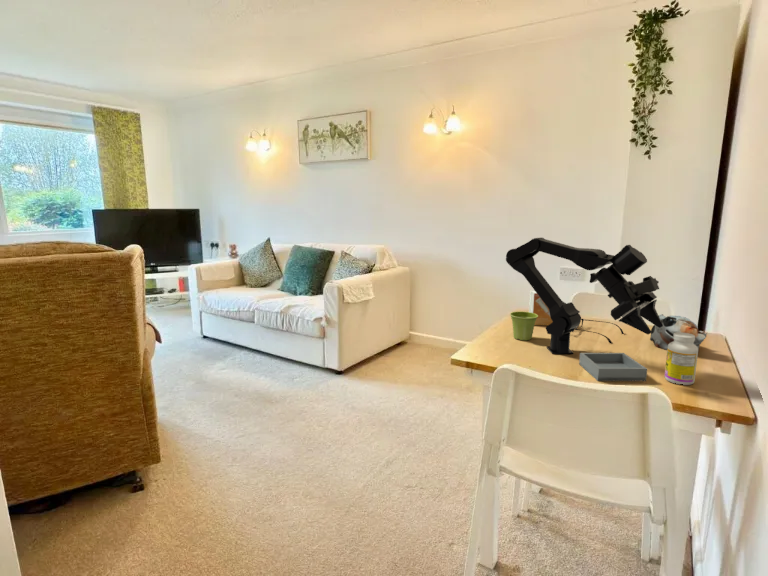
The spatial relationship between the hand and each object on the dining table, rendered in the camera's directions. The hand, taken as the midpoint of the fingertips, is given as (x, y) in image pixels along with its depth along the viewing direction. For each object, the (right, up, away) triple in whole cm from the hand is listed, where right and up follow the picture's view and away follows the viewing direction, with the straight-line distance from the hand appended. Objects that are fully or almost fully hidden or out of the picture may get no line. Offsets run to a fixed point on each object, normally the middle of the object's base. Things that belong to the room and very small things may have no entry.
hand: (655, 330), depth 118 cm
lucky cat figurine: (+21, -8, +23) cm, 33 cm away
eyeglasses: (+3, -6, +39) cm, 40 cm away
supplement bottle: (+5, -14, -2) cm, 15 cm away
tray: (-10, -12, +4) cm, 16 cm away
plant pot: (-25, -7, +36) cm, 44 cm away
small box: (-12, -3, +54) cm, 56 cm away
